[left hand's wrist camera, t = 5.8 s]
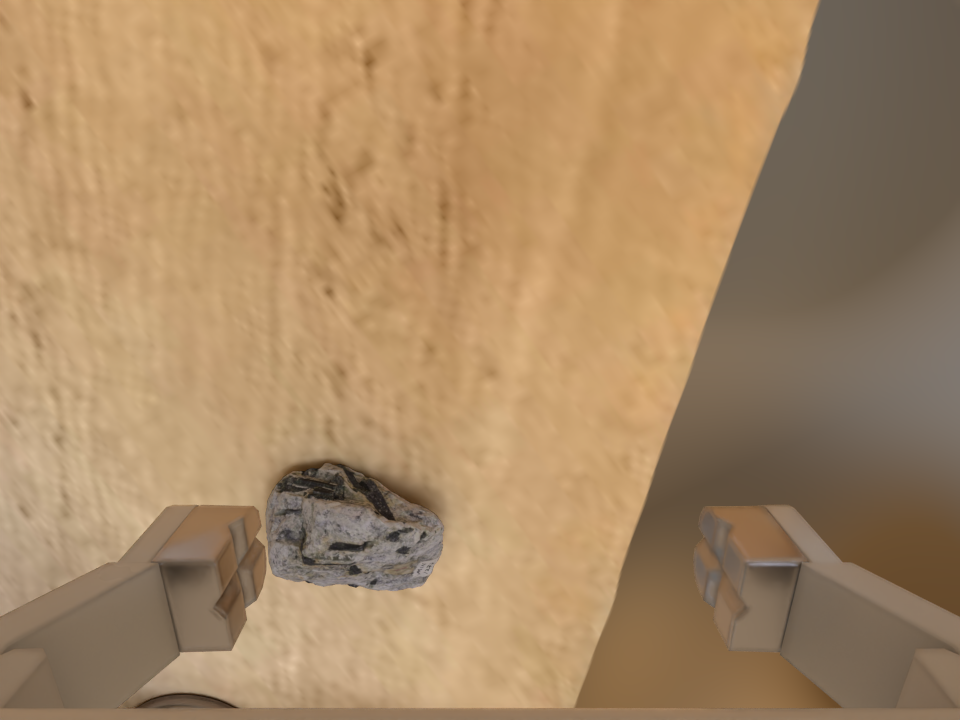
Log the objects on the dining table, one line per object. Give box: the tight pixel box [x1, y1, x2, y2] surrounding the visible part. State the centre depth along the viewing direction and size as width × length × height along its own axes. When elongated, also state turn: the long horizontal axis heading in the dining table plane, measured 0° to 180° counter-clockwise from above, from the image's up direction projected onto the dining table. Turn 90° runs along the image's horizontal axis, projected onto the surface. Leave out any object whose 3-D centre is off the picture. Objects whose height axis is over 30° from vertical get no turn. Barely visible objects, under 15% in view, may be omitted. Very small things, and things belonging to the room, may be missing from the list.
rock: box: [266, 463, 444, 591], centre depth 46 cm, size 15×10×7 cm
